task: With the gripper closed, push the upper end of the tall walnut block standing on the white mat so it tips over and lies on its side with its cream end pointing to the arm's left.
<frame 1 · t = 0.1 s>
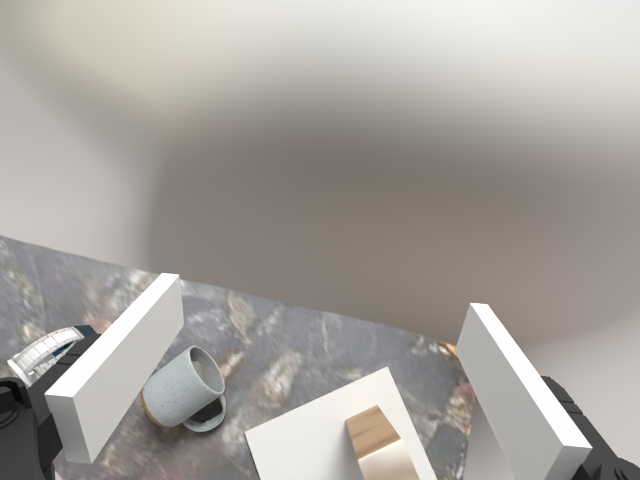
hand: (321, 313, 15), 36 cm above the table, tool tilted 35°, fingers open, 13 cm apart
white mat: (340, 455, 46), on the table
ceramic mug: (200, 387, 48), on the table
watch: (90, 350, 49), on the table
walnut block: (370, 433, 46), resting on white mat
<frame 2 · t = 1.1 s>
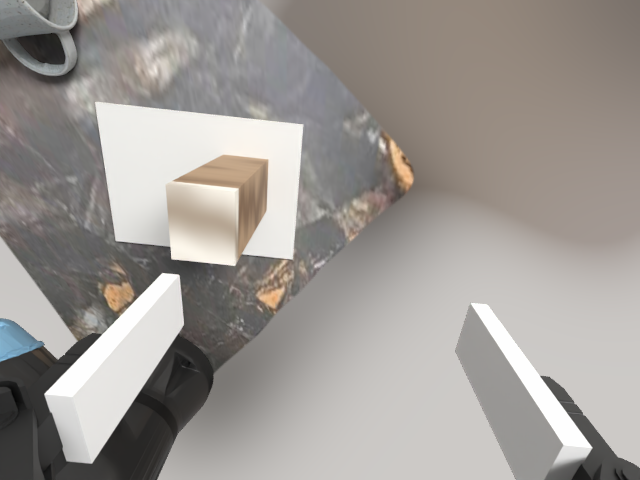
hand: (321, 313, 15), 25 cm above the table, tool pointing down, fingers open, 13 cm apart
white mat: (203, 186, 39), on the table
ceramic mug: (47, 14, 33), on the table
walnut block: (245, 183, 38), resting on white mat
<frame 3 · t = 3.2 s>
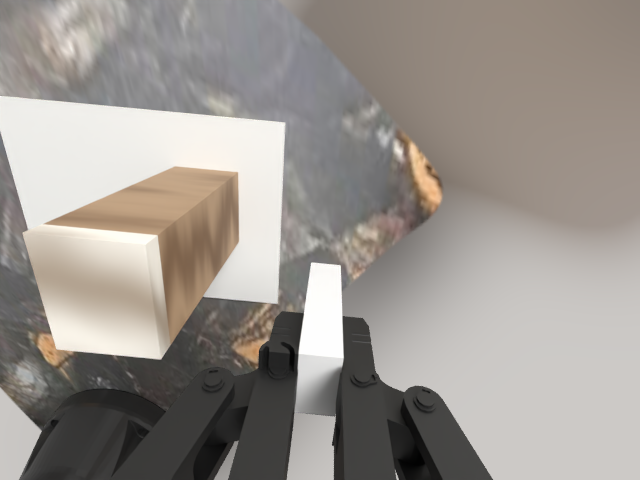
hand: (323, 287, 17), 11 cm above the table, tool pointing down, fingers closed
white mat: (152, 209, 28), on the table
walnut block: (208, 205, 27), resting on white mat
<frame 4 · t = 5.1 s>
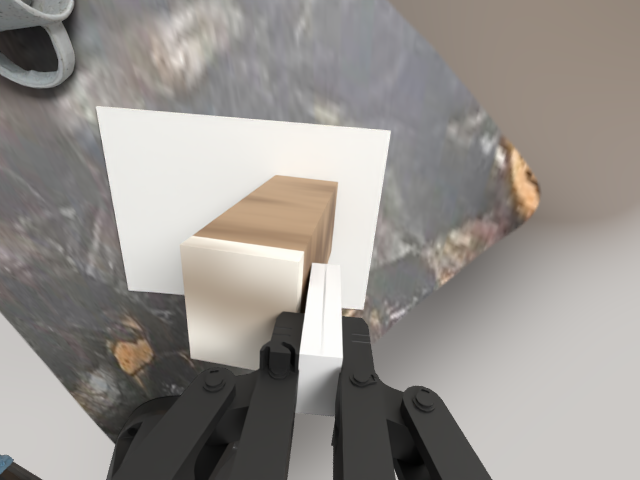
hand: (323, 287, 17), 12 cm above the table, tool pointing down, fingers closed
white mat: (245, 218, 28), on the table
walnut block: (304, 214, 27), point 1 cm above the table, tilted 7°, touching white mat, gripper
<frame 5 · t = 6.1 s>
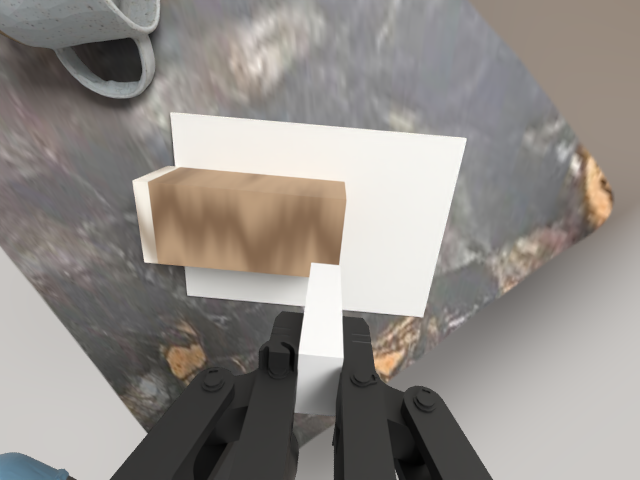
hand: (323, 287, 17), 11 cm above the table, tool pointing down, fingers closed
white mat: (311, 224, 28), on the table
ceramic mug: (113, 10, 23), on the table
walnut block: (341, 228, 25), point 3 cm above the table, tilted 90°, touching white mat
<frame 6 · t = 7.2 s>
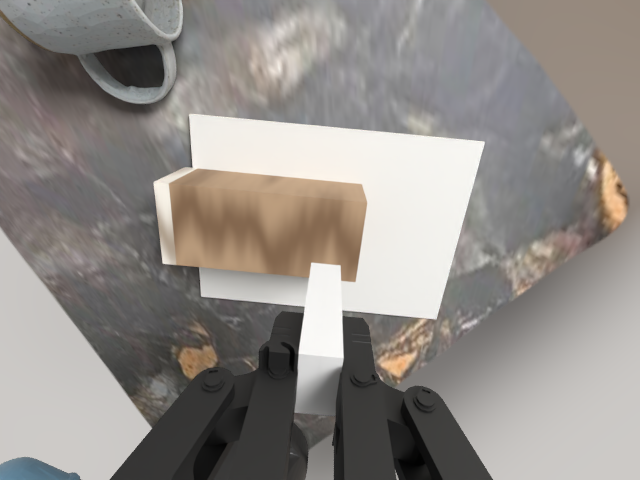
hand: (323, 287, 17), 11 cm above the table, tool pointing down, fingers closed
white mat: (326, 226, 28), on the table
ceramic mug: (135, 17, 23), on the table
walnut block: (358, 231, 25), point 3 cm above the table, tilted 90°, touching white mat
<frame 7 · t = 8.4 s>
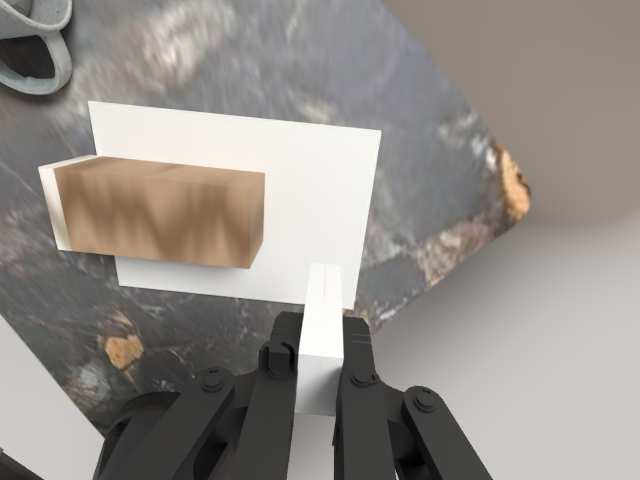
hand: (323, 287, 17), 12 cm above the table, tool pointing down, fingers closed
white mat: (236, 215, 28), on the table
ceramic mug: (29, 8, 23), on the table
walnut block: (257, 218, 25), point 3 cm above the table, tilted 90°, touching white mat
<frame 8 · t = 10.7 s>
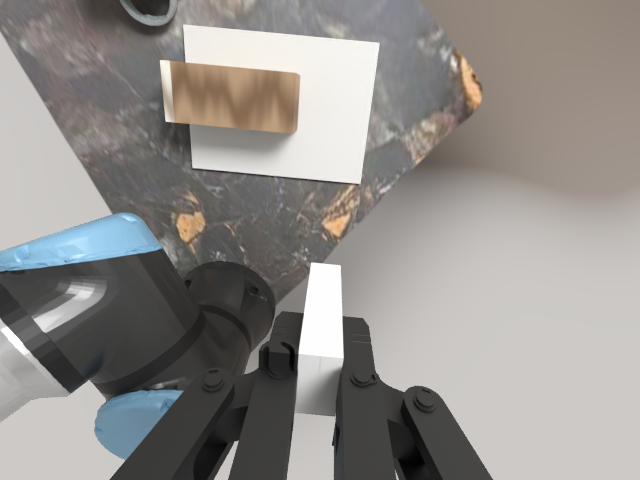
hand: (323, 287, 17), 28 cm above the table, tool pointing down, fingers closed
white mat: (279, 110, 41), on the table
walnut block: (296, 103, 38), point 3 cm above the table, tilted 90°, touching white mat
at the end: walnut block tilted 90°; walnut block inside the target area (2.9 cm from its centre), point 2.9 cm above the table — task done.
